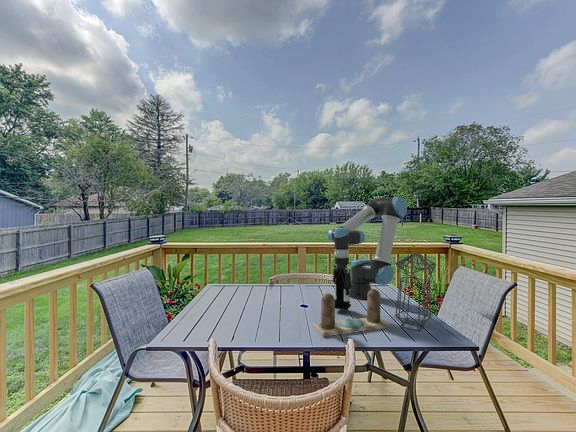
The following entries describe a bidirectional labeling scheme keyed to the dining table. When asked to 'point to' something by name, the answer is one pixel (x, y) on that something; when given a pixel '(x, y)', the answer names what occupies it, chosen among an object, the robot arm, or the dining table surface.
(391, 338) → the dining table surface
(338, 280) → the chess piece
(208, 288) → the dining table surface
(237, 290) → the dining table surface
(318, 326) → the wooden twin peg stand
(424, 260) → the geometric lantern
